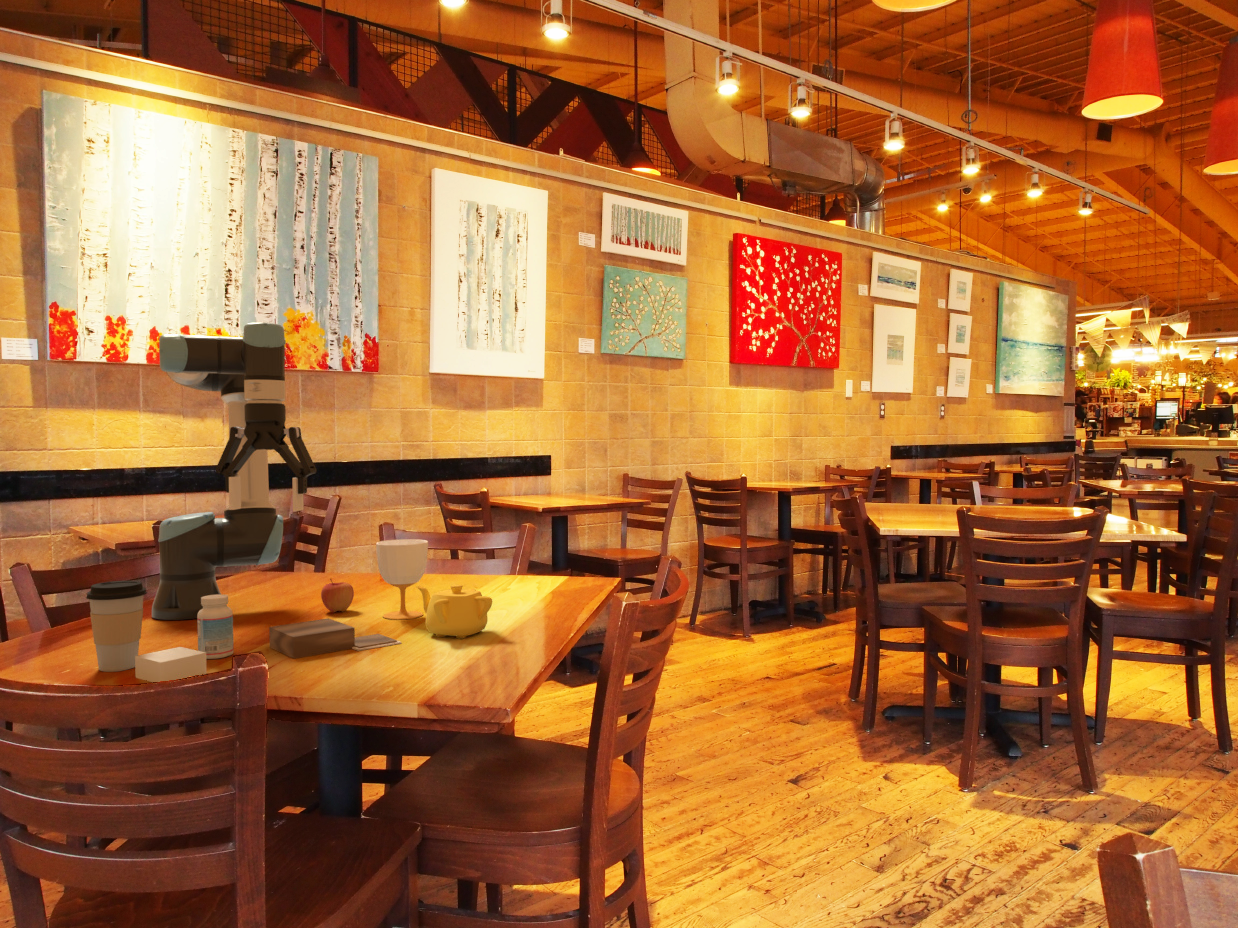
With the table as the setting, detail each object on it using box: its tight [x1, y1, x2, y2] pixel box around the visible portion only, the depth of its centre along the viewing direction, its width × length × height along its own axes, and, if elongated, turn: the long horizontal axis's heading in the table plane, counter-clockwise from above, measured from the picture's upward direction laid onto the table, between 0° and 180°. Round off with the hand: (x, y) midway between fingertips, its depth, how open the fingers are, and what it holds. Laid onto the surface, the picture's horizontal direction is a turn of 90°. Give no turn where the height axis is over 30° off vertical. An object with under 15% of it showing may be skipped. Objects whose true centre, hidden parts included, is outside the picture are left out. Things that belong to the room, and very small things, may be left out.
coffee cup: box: [85, 580, 148, 673], centre depth 156 cm, size 9×9×15 cm
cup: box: [375, 538, 429, 621], centre depth 201 cm, size 12×12×17 cm
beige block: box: [134, 646, 207, 683], centre depth 151 cm, size 8×8×4 cm
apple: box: [320, 578, 355, 614], centre depth 206 cm, size 7×7×8 cm
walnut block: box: [269, 618, 356, 659], centre depth 171 cm, size 12×12×4 cm
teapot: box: [415, 584, 493, 639], centre depth 182 cm, size 14×13×10 cm
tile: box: [352, 633, 402, 652], centre depth 174 cm, size 9×9×1 cm
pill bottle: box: [196, 593, 235, 660], centre depth 164 cm, size 6×6×11 cm
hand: (266, 510), depth 173 cm, fingers open, 13 cm apart
